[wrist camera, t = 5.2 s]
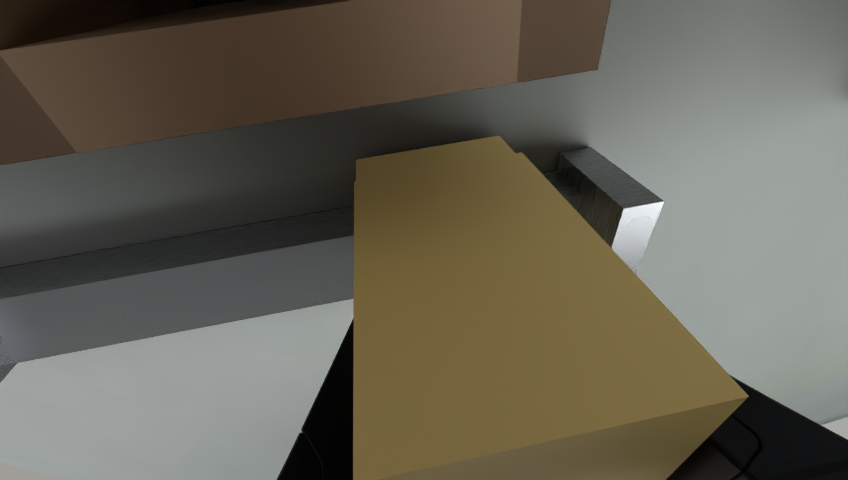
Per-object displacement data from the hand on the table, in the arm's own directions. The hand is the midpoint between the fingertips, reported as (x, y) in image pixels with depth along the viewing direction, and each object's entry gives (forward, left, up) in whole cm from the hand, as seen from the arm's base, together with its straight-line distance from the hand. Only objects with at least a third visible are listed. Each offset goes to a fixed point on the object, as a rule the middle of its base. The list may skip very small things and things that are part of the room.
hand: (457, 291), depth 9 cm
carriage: (0, 0, -3) cm, 3 cm away
